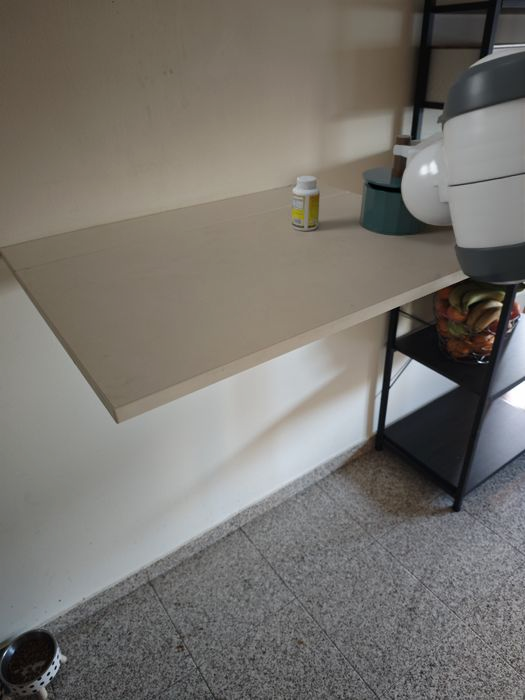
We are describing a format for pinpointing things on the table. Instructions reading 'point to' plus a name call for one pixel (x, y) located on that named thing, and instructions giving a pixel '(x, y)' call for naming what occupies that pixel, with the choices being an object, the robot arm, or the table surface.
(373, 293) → the table surface
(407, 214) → the pot
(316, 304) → the table surface
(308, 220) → the supplement bottle
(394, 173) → the lid
